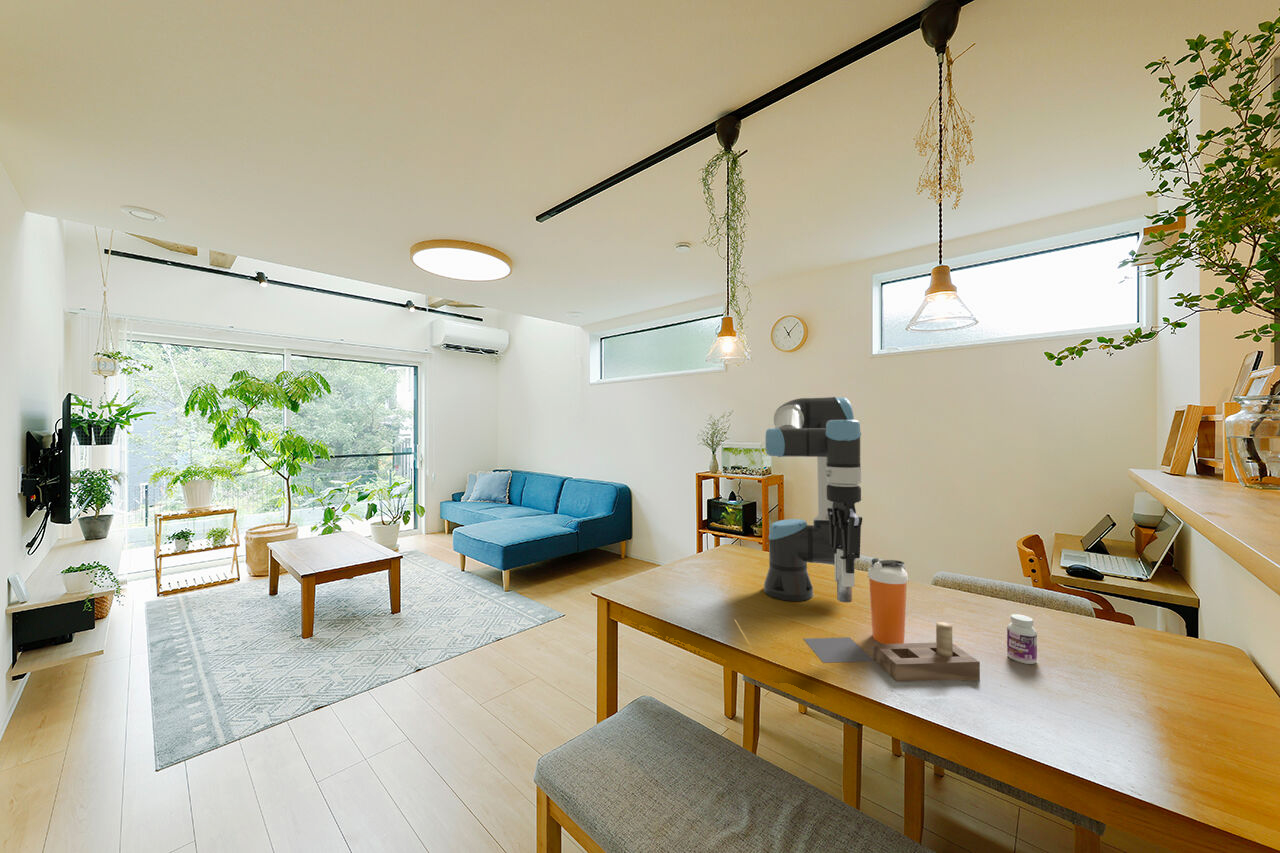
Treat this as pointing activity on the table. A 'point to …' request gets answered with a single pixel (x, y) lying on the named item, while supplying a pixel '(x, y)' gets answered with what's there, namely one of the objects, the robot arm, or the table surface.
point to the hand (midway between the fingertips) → (844, 583)
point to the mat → (837, 650)
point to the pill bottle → (1022, 639)
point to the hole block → (925, 663)
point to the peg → (842, 592)
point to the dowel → (944, 639)
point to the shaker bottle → (888, 600)
